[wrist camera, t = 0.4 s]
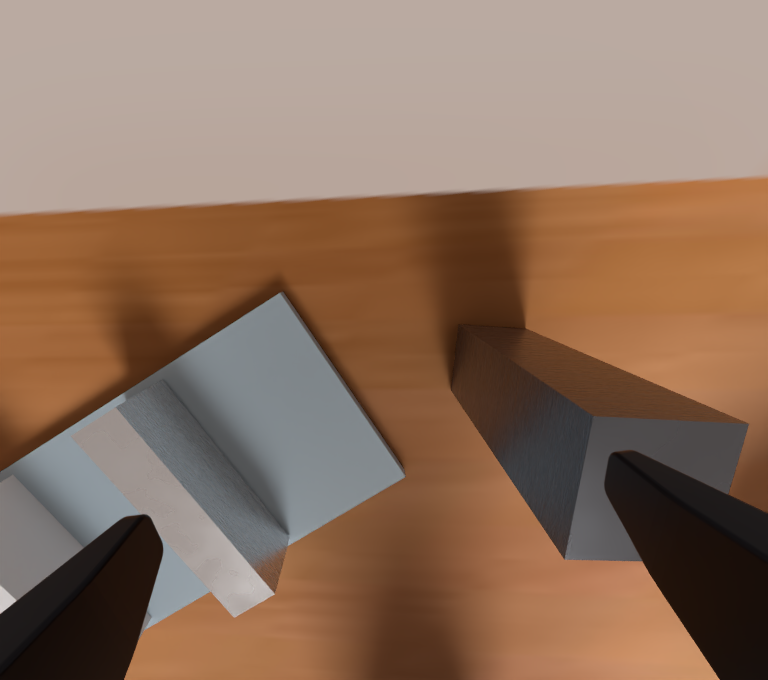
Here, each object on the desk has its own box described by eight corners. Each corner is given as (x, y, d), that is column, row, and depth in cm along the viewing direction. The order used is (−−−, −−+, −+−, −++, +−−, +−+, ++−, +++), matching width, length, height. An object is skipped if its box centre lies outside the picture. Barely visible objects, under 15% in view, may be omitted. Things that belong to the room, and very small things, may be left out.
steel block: (515, 393, 23) (708, 562, 10) (451, 390, 22) (564, 559, 10) (526, 328, 22) (749, 424, 9) (458, 324, 22) (593, 416, 9)
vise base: (120, 636, 25) (63, 724, 20) (-28, 490, 22) (-133, 552, 17) (404, 469, 23) (414, 522, 19) (282, 291, 21) (259, 300, 16)
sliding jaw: (256, 557, 23) (234, 617, 19) (125, 402, 21) (70, 436, 17) (289, 537, 23) (274, 594, 19) (162, 378, 20) (115, 407, 17)
